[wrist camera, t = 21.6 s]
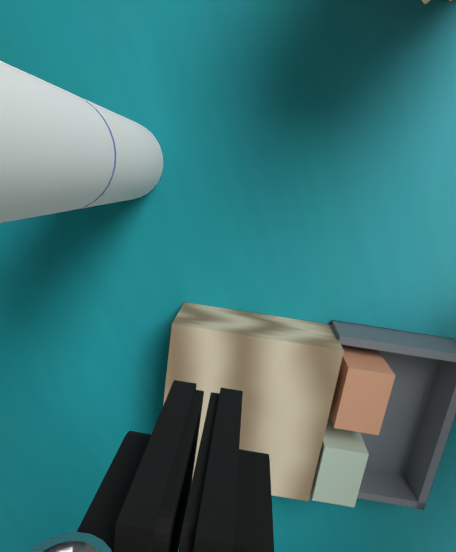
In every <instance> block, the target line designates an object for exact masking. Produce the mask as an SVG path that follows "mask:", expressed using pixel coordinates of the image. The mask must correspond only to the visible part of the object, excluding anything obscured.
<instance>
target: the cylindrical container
mask: <svg viewBox="0 0 456 552" xmlns="http://www.w3.org/2000/svg"><path fill="white" fill-rule="evenodd" d="M162 170H163V155H162V151H161V148H160V145H159V143H158V141H157V140H156V138H155V137H154V136H153V134H152V133H151V132H150V131H149V130H148V129H146V128H145V127H144V126H142V125H140V124H138V123H136V122H134V121H132V120H129V119H127V118H125V117H123V116H121V115H118V114H116V113H114V112H112V111H110V110H107V109H105V108H103V107H101V106H99V105H96V104H94V103H92V102H90V101H88V100H85V99H83V98H81V97H79V96H77V95H74V94H72V93H70V92H68V91H66V90H63V89H61V88H59V87H57V86H55V85H52V84H50V83H48V82H46V81H44V80H41V79H39V78H37V77H35V76H33V75H30V74H28V73H26V72H24V71H22V70H19V69H17V68H15V67H13V66H11V65H8V64H6V63H4V62H2V61H0V223H3V222H9V221H14V220H20V219H26V218H31V217H37V216H42V215H48V214H54V213H59V212H65V211H71V210H76V209H82V208H87V207H93V206H98V205H104V204H109V203H115V202H121V201H126V200H132V199H136V198H140V197H142V196H144V195H146V194H148V193H149V192H150V191H151V190H152V189H153V188H154V187H155V186H156V184H157V183H158V181H159V179H160V177H161V174H162Z"/></svg>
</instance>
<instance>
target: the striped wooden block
mask: <svg viewBox="0 0 456 552" xmlns="http://www.w3.org/2000/svg"><path fill="white" fill-rule="evenodd" d="M343 353H344V350H343V348H342V346H341V344H340V342H339V340H338V338H337V336H336V334H335V332H334V330H333V328H332V326H331V325H330V324H323V323H317V322H310V321H304V320H297V319H290V318H284V317H277V316H271V315H264V314H258V313H251V312H245V311H238V310H232V309H225V308H219V307H212V306H206V305H199V304H193V303H186V302H184V304H183V305H182V307H181V309H180V310H179V312H178V314H177V316H176V317H175V319H174V321H173V323H172V327H171V336H170V346H169V355H168V364H167V374H166V383H165V393H164V402H163V405H164V403H165V401H166V398H167V396H168V393H169V391H170V388H171V386H172V383H173V381H174V380H178V381H184V382H190V383H196V390H201V391H204V396H203V404H202V411H201V419H200V426H199V433H198V441H197V448H196V455H195V463H194V470H195V465H196V460H197V456H198V451H199V446H200V441H201V437H202V432H203V427H204V423H205V418H206V413H207V408H208V404H209V399H210V394H211V392H213V393H220V389H221V388H227V389H234V390H240V391H243V396H242V412H241V428H240V443H239V449H241V450H247V451H253V452H259V453H265V454H269V459H270V477H271V495H273V496H279V497H285V498H291V499H297V500H303V501H308V502H309V498H310V494H311V490H312V485H313V481H314V477H315V473H316V468H317V464H318V460H319V455H320V451H321V447H322V443H323V438H324V434H325V430H326V426H327V421H328V417H329V413H330V408H331V404H332V400H333V396H334V391H335V387H336V383H337V378H338V374H339V370H340V366H341V361H342V357H343ZM194 470H193V475H194ZM192 479H193V477H192Z"/></svg>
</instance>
